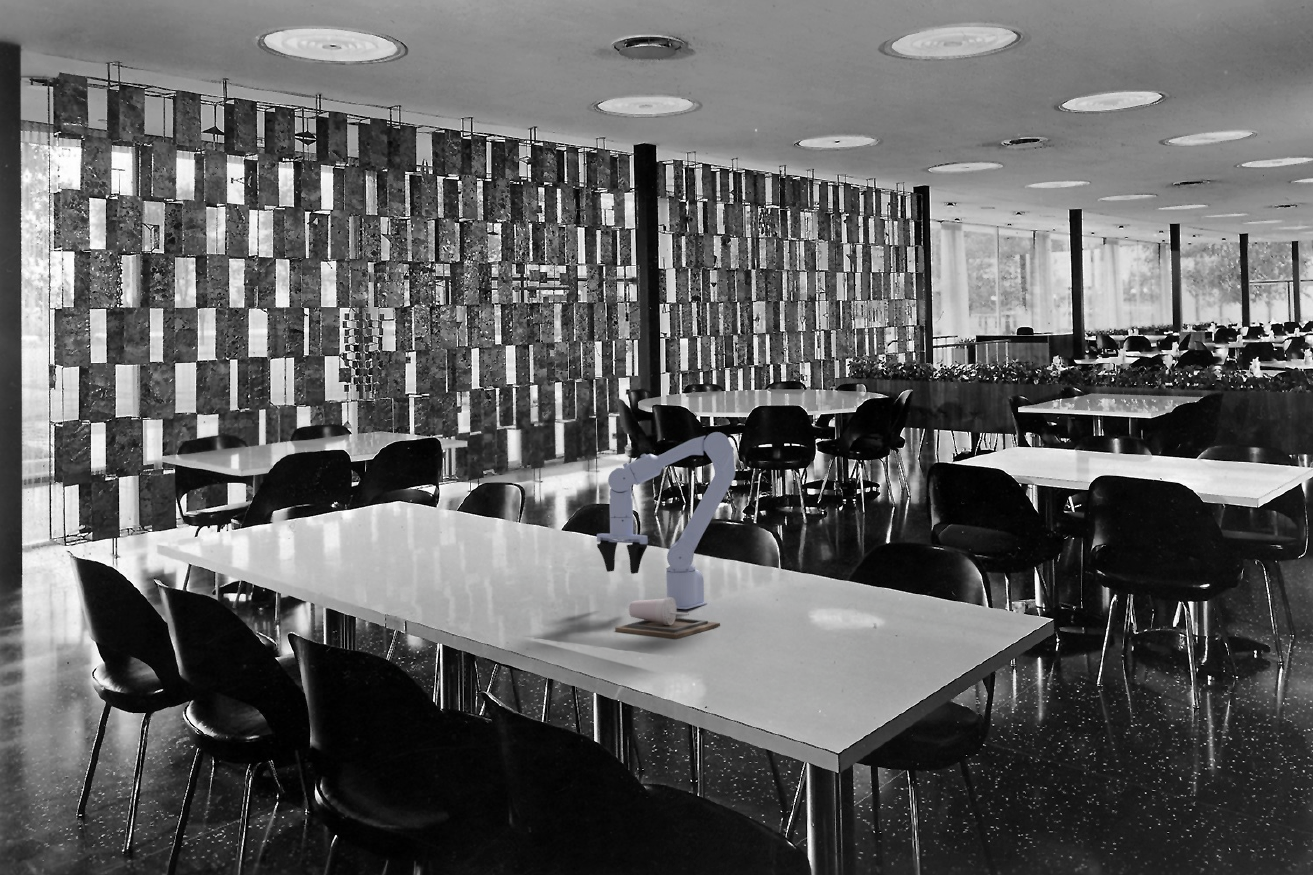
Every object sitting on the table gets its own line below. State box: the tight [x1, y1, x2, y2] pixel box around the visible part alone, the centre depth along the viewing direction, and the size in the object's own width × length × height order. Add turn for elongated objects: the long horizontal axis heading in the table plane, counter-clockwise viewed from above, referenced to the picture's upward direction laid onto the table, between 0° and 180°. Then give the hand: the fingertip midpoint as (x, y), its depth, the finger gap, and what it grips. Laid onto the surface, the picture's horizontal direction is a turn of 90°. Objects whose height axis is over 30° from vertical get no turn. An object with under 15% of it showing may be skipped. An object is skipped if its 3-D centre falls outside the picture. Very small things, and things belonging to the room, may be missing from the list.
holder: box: [614, 617, 721, 639], centre depth 238 cm, size 17×17×1 cm
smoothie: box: [628, 596, 690, 625], centre depth 239 cm, size 6×6×14 cm
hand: (622, 572), depth 259 cm, fingers open, 7 cm apart
